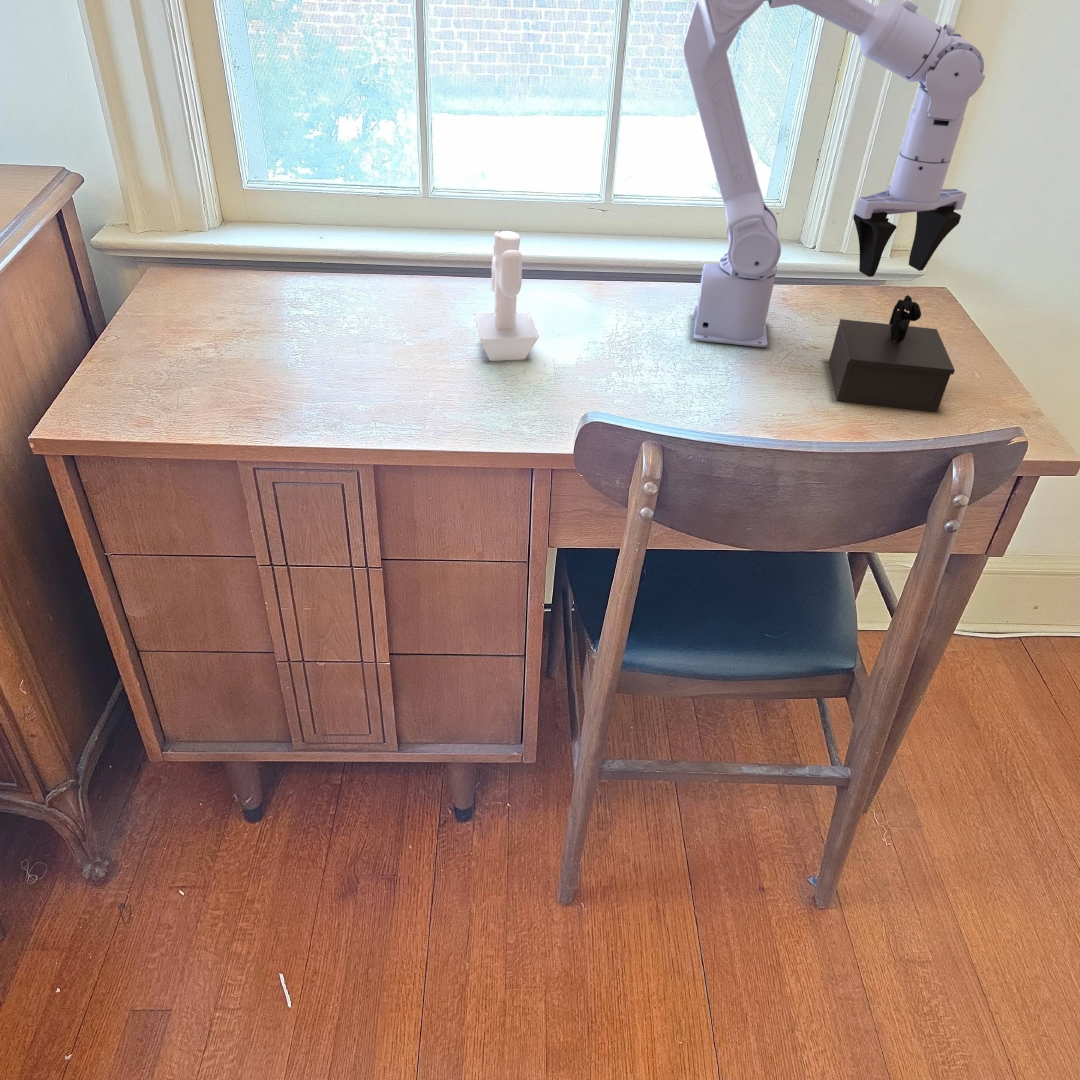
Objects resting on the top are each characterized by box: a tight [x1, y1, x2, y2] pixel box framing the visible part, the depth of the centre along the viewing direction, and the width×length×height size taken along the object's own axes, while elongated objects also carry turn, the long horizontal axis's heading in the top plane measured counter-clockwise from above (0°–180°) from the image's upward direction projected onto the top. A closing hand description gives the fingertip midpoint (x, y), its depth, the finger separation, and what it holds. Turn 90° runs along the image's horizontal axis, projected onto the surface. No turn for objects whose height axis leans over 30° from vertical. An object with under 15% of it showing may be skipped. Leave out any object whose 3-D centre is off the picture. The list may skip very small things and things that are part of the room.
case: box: [828, 324, 952, 413], centre depth 108 cm, size 10×12×5 cm
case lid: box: [838, 318, 956, 375], centre depth 106 cm, size 11×12×1 cm
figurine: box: [472, 230, 540, 362], centre depth 108 cm, size 7×9×15 cm
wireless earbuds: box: [888, 294, 922, 342], centre depth 105 cm, size 7×2×5 cm, turn 168°
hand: (891, 270), depth 112 cm, fingers open, 7 cm apart
